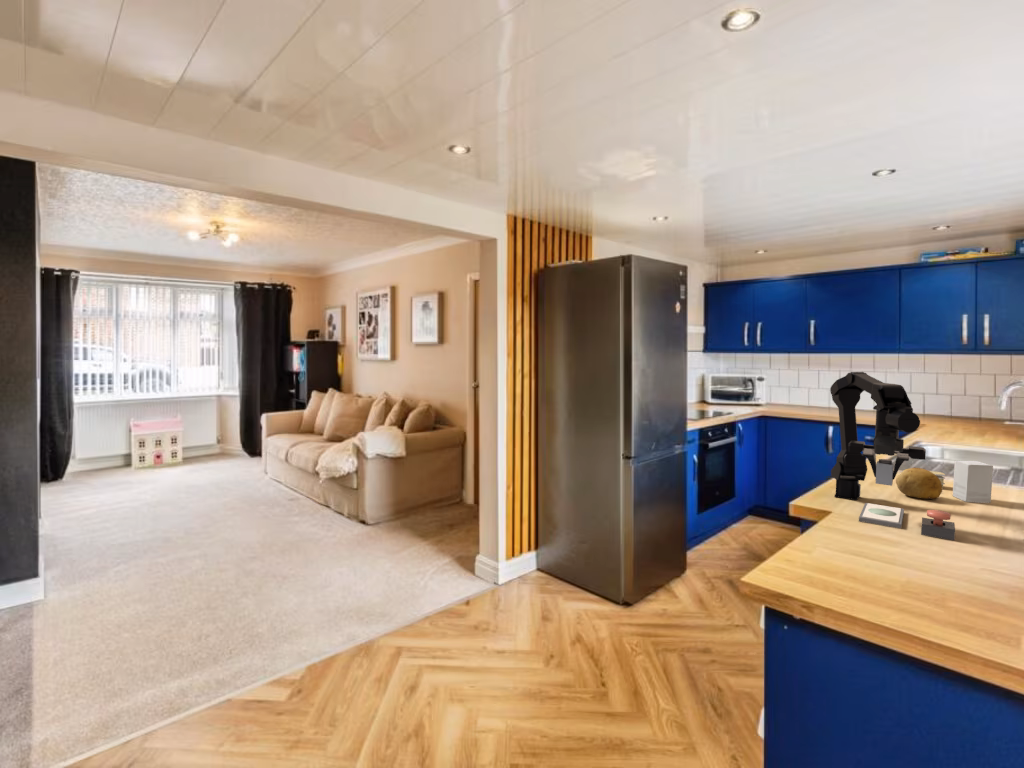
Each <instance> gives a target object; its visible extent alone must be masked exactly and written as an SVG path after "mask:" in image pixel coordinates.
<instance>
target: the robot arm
mask: <svg viewBox="0 0 1024 768" xmlns="http://www.w3.org/2000/svg"><path fill="white" fill-rule="evenodd" d="M829 391H830V395H831V399H832V402H833V404H834V405H835V406H836V408H838V419H839V432H840V433H839V434H840V448H841V449H840V452H839V453H838V455H837V456H836V463H835V464H834V466H833V467H832V468H831V470H830V477H831V478H833V479H835V494H834V497H836V498H840V499H847V500H854V501H857V500H858V499H859V498H860V497H861V486H862V485H861V483H860V481H861V482H864V481H865V479H866V477H867V473H868V466H867V460H868V462H869V464H870V467H871V469H872V473H873V476H874V478H876V464H877V455H884V456H885V455H886V456H889V457H890V456H891V457H892V456H895V455H896V458H895V462H894V468H893V480H895V479H896V477H897V474H898V471H899V470H900V468H901V466H902V465H903V463H904V462H909V461H910V459H912V460H922V461H925V460H926V455H927V453H926V451H927V450H926V448H925V447H924V446H914V445H913V446H912V445H908V448H904V441H905V440H904V439H903V438H899V433H900V432H901V431H902V432H905V433H912V432H915V431H916V430H917V429H919V427H920V424H921V420H920V417H919V415H918V414H916V413H915V412H914V409H913V407H912V402H911V399H910V398H909V396H908V394H907V391H906V390H905V387H904V386H903V385H901V384H895V383H888V382H887V383H886V382H883V381H881V380H879V379H877V378H875V377H872V376H870V374H868V373H866V372H865V371H850V372H848V373H847V374H846V375H845V376H841V377H840V378H839V379H836V380H835V381H834V382H833V384H831V386H830V390H829ZM863 392H866V393H868V394H869V395H870V399H871V400H873V402H874V403H876V405H874V406H873V407H872V409H873V410H875V425H874V426H875V427H874V438H873V445H872V444H866V442H865V441H860V440H858V439H859V438H858V426H857V425H858V424H857V414H856V412H857V411H856V406H857V405H858V403H859V402H860V400H861V394H862V393H863Z"/></svg>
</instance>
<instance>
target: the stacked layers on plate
mask: <svg viewBox="0 0 1024 768" xmlns="http://www.w3.org/2000/svg"><path fill="white" fill-rule="evenodd" d="M929 471H930V472H932V473H933V474H935V475H936V476H937V477H938V478H939V479H940V481H941V484H942V489H944V485H946V484H945V483H944V480H945V479H946V478H945V476H942V475H946V474H945V473H944V472H941V471H935V470H934V471H933V470H929Z"/></svg>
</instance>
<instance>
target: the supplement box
mask: <svg viewBox="0 0 1024 768" xmlns="http://www.w3.org/2000/svg"><path fill="white" fill-rule="evenodd" d="M993 468H994V465H992V464H988V463H985V462H982V461H979V460H954V469H953V481H952V482H953V483H952V496H953V498H954V497H955V498H956V499H958V500H961V501H964V502H965V503H966V502H967V503H977V504H978V503H979V504H981V503H982V504H991V502H992V487H993V483H992V482H993V470H994V469H993Z"/></svg>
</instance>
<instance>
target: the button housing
mask: <svg viewBox="0 0 1024 768" xmlns="http://www.w3.org/2000/svg"><path fill="white" fill-rule="evenodd" d="M933 521H934V518H930V517H929V518H928V517H921V528H920V529H921V530H920V535H921V536H925V537H931V538H932V537H933V538H939V539H944V540H949V541H955V538H956V525H955V522H953V521H948V520H943V526H942V525H936V524H933Z"/></svg>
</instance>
